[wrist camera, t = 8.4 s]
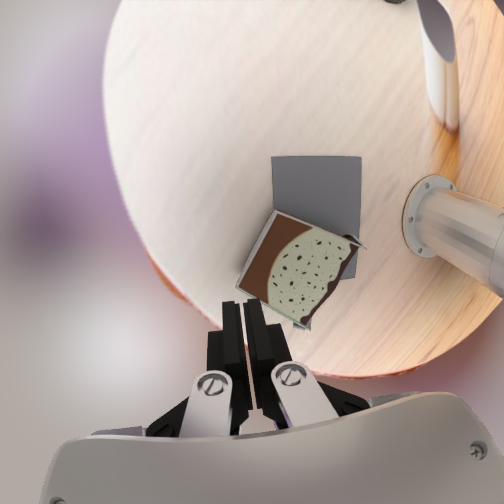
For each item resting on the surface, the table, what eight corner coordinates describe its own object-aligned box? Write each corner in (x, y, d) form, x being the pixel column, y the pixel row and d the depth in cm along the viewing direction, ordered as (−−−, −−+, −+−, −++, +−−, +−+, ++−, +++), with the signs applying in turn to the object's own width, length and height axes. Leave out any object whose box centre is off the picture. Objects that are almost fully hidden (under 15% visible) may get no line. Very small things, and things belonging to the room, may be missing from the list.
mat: (359, 157, 30) (361, 157, 29) (353, 276, 36) (354, 277, 35) (271, 156, 29) (272, 157, 28) (275, 286, 35) (276, 288, 34)
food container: (238, 274, 35) (305, 306, 36) (229, 298, 29) (308, 334, 30) (283, 188, 31) (355, 228, 31) (283, 196, 25) (369, 244, 26)
